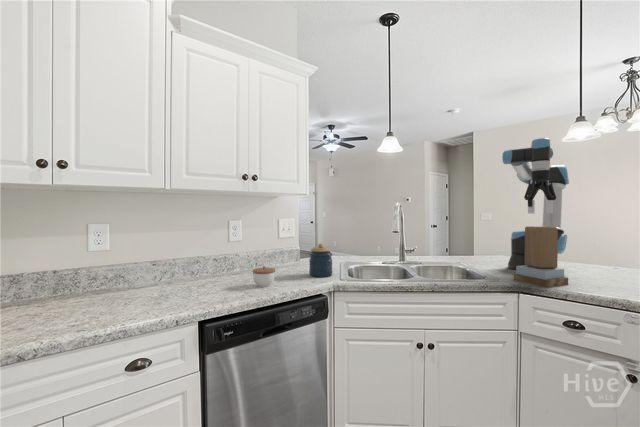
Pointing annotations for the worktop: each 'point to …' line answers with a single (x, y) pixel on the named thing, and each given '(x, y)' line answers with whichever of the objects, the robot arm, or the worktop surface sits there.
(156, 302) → the worktop surface
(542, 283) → the tower base
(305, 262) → the worktop surface
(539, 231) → the block
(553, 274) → the tower top
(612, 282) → the worktop surface
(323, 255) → the canister
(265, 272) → the lidded jar
